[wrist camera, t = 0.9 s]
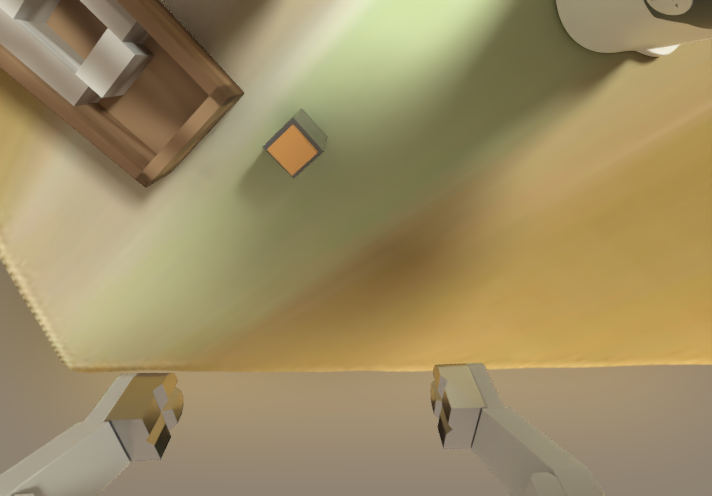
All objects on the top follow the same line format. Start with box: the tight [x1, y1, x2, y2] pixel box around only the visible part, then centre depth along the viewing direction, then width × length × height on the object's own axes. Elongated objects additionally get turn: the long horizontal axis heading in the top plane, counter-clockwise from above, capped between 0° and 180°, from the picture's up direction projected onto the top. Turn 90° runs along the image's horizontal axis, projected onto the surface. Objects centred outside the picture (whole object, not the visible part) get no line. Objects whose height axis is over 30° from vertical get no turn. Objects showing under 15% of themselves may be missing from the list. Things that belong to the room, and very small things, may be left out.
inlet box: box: [0, 0, 244, 187], centre depth 31 cm, size 13×20×6 cm, turn 40°
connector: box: [263, 109, 327, 178], centre depth 34 cm, size 4×4×8 cm
